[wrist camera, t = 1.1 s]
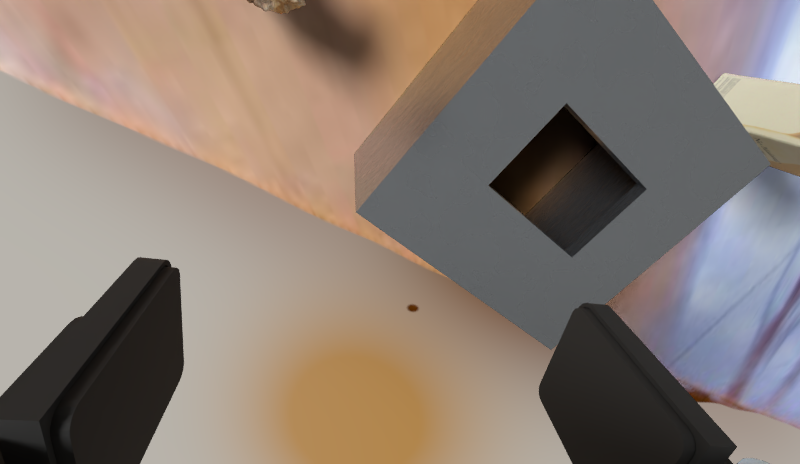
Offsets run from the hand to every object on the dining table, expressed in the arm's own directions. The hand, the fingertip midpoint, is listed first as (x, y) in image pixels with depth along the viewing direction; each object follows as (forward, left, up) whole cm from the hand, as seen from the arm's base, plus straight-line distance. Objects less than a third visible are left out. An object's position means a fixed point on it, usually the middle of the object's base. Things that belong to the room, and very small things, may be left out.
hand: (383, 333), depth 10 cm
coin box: (-6, +11, -26) cm, 29 cm away
